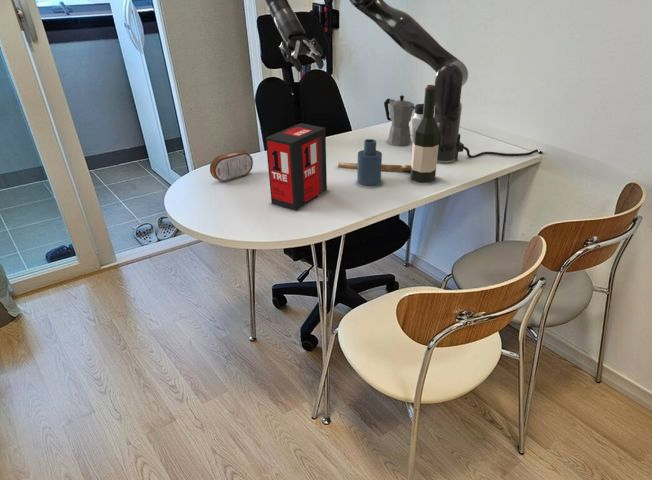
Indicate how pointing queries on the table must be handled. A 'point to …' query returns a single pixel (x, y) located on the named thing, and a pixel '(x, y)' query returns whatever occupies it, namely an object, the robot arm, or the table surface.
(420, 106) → the medicine bottle
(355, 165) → the spoon
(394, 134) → the coffeepot
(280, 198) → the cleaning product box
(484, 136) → the table surface
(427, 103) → the wine bottle
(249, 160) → the tin
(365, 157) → the bottle
